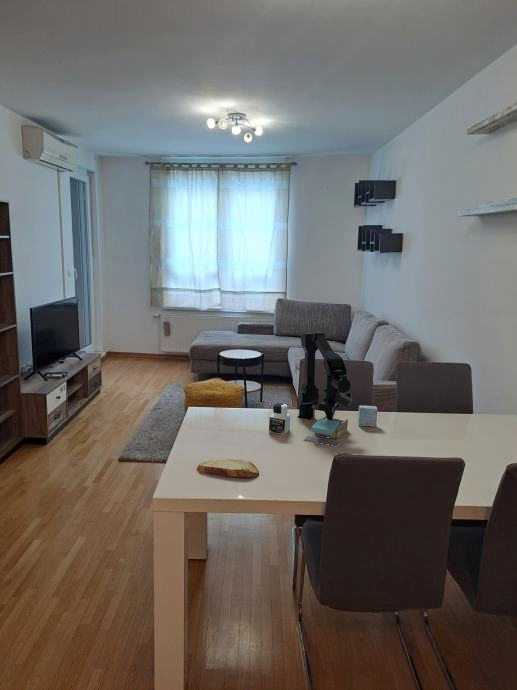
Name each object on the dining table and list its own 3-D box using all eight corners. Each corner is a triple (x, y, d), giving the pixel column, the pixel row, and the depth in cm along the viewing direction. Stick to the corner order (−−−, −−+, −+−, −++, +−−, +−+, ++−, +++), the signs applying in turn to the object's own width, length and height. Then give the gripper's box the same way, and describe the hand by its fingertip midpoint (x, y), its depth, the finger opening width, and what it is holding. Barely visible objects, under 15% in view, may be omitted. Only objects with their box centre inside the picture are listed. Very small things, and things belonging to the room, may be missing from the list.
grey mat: (303, 440, 215) (303, 439, 215) (307, 436, 219) (307, 436, 219) (336, 446, 209) (336, 446, 209) (340, 442, 213) (340, 442, 213)
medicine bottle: (268, 432, 223) (269, 405, 221) (274, 427, 229) (275, 401, 227) (284, 435, 220) (285, 407, 218) (289, 430, 227) (291, 403, 225)
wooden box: (314, 435, 221) (315, 423, 220) (325, 426, 234) (325, 415, 233) (337, 439, 217) (338, 427, 216) (347, 430, 229) (347, 418, 229)
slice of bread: (192, 468, 184) (192, 458, 183) (235, 458, 194) (236, 449, 193) (219, 488, 169) (219, 477, 169) (264, 476, 180) (264, 466, 179)
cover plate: (311, 431, 214) (311, 427, 213) (320, 422, 223) (320, 418, 223) (330, 435, 210) (331, 430, 210) (338, 425, 220) (339, 421, 219)
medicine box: (375, 424, 239) (376, 406, 237) (376, 427, 234) (377, 409, 233) (357, 423, 239) (358, 405, 238) (358, 426, 235) (359, 407, 233)
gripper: (345, 394, 208) (342, 432, 210) (357, 384, 224) (354, 419, 227) (318, 390, 212) (316, 427, 215) (332, 380, 229) (330, 415, 232)
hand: (330, 422), depth 222 cm, fingers closed
